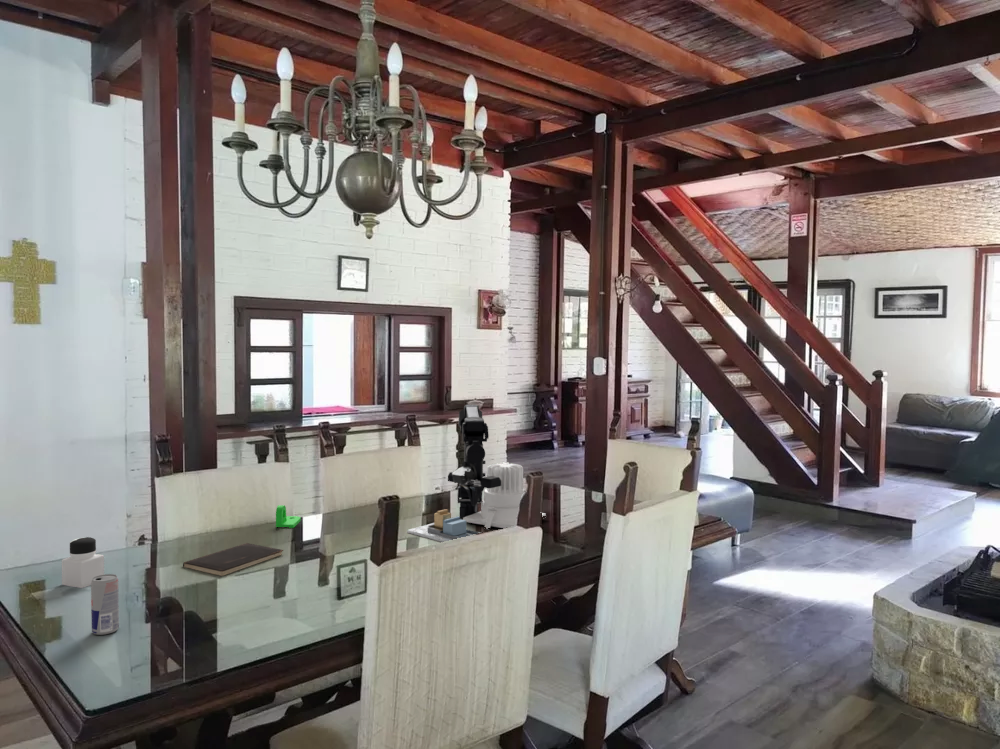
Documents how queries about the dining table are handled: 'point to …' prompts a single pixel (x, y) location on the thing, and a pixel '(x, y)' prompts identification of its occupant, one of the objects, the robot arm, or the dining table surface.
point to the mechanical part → (285, 518)
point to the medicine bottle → (82, 563)
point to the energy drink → (104, 604)
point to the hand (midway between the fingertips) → (473, 505)
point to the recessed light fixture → (501, 497)
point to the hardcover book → (233, 559)
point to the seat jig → (437, 533)
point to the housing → (454, 526)
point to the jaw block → (441, 518)
